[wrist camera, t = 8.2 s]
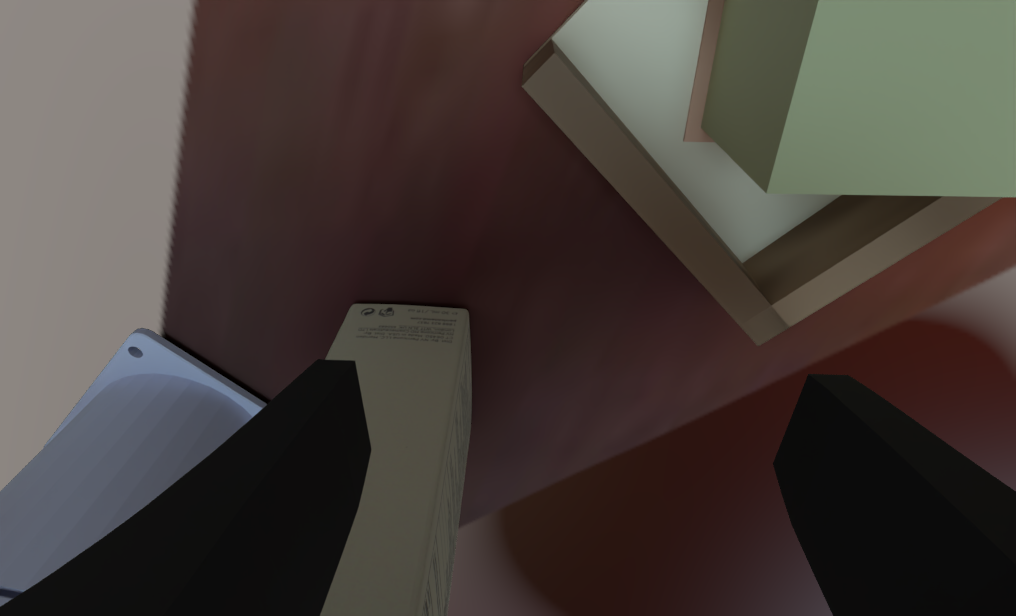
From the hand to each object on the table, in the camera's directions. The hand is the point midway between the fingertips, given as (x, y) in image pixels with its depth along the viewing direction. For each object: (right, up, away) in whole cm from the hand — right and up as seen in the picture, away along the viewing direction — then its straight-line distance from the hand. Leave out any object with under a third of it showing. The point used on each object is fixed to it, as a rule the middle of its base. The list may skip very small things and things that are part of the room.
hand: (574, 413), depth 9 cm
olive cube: (+7, +9, +5) cm, 12 cm away
